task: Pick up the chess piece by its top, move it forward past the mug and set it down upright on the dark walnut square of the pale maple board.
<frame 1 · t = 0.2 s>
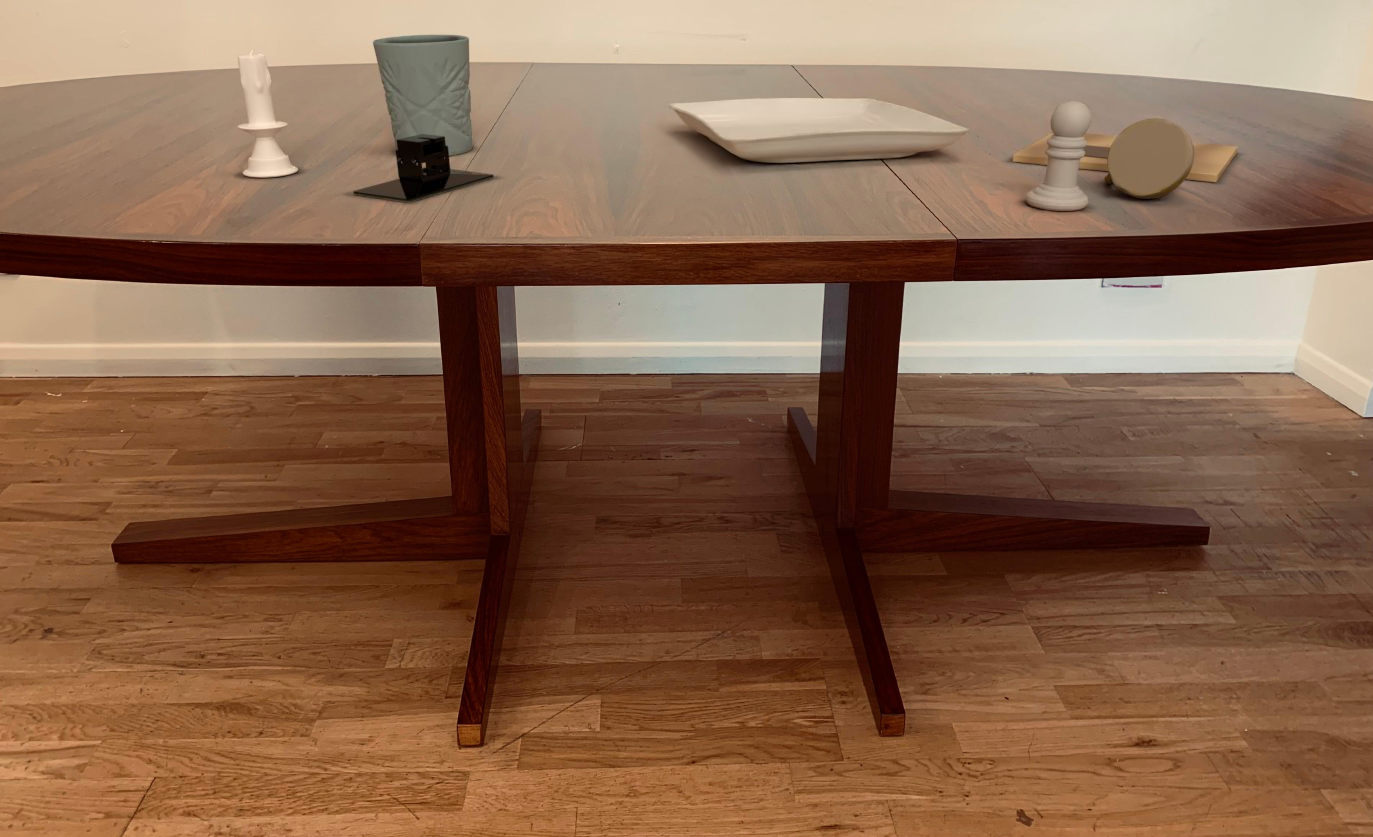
chess piece: (1055, 207, 91), on the table
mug: (1144, 194, 96), on the table
board: (1126, 157, 111), on the table
drinking glass: (433, 151, 115), on the table
square plate: (806, 147, 118), on the table
motor on base plate: (426, 187, 98), on the table
candle: (271, 174, 104), on the table
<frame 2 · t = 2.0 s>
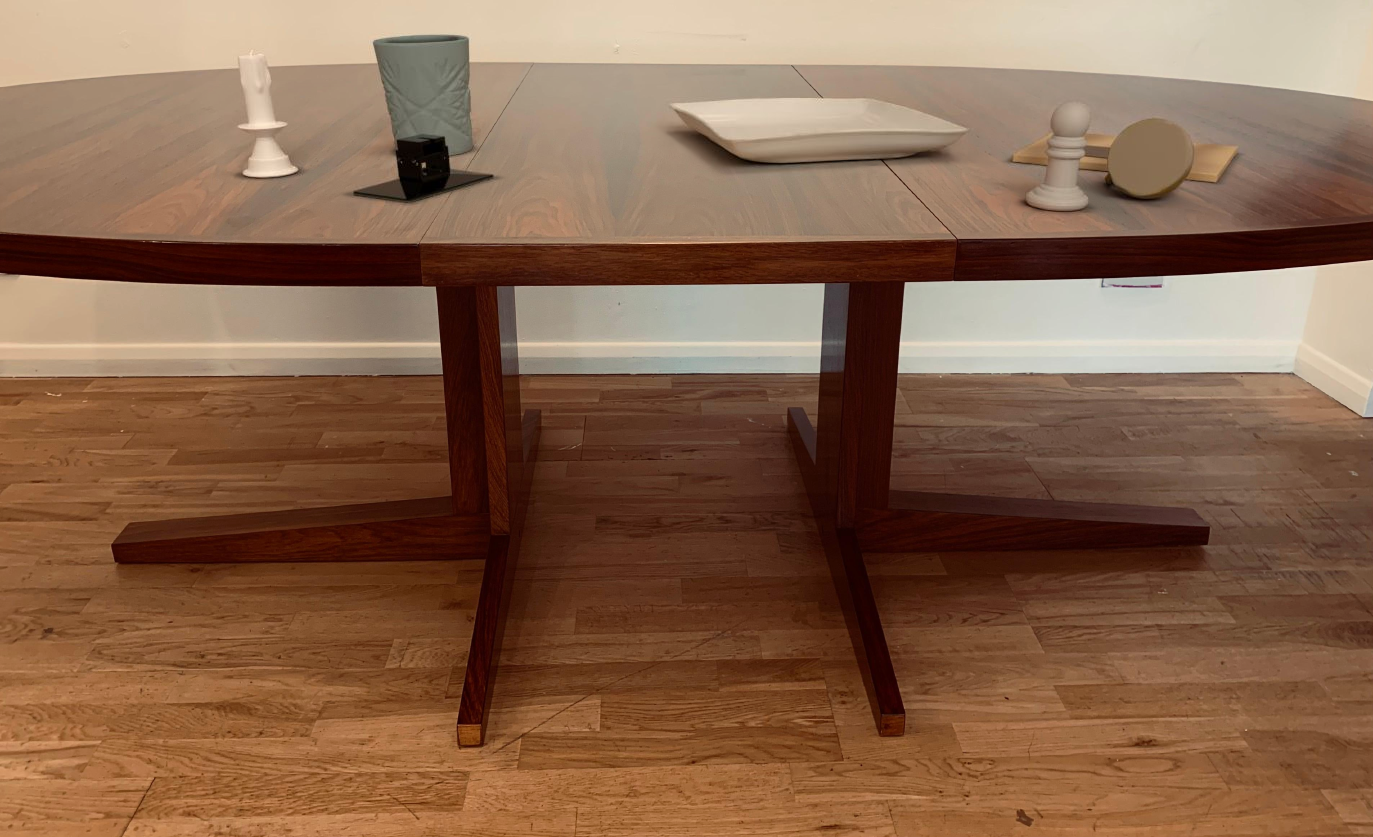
nothing on the table moved.
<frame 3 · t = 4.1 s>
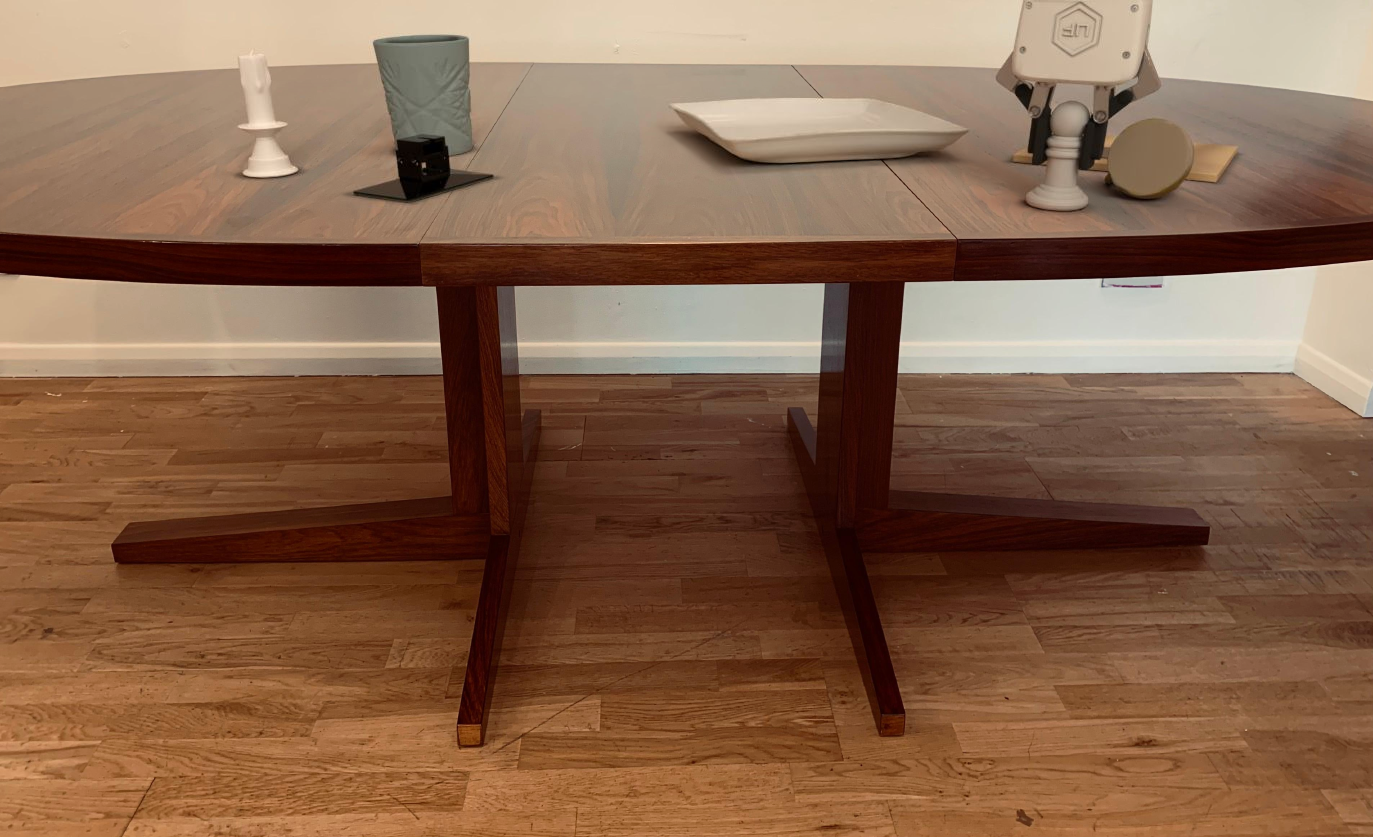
hand: (1063, 163, 89), 4 cm above the table, tool pointing down, fingers closed on chess piece, 3 cm apart
chess piece: (1055, 207, 91), on the table, touching gripper
everything else where it was.
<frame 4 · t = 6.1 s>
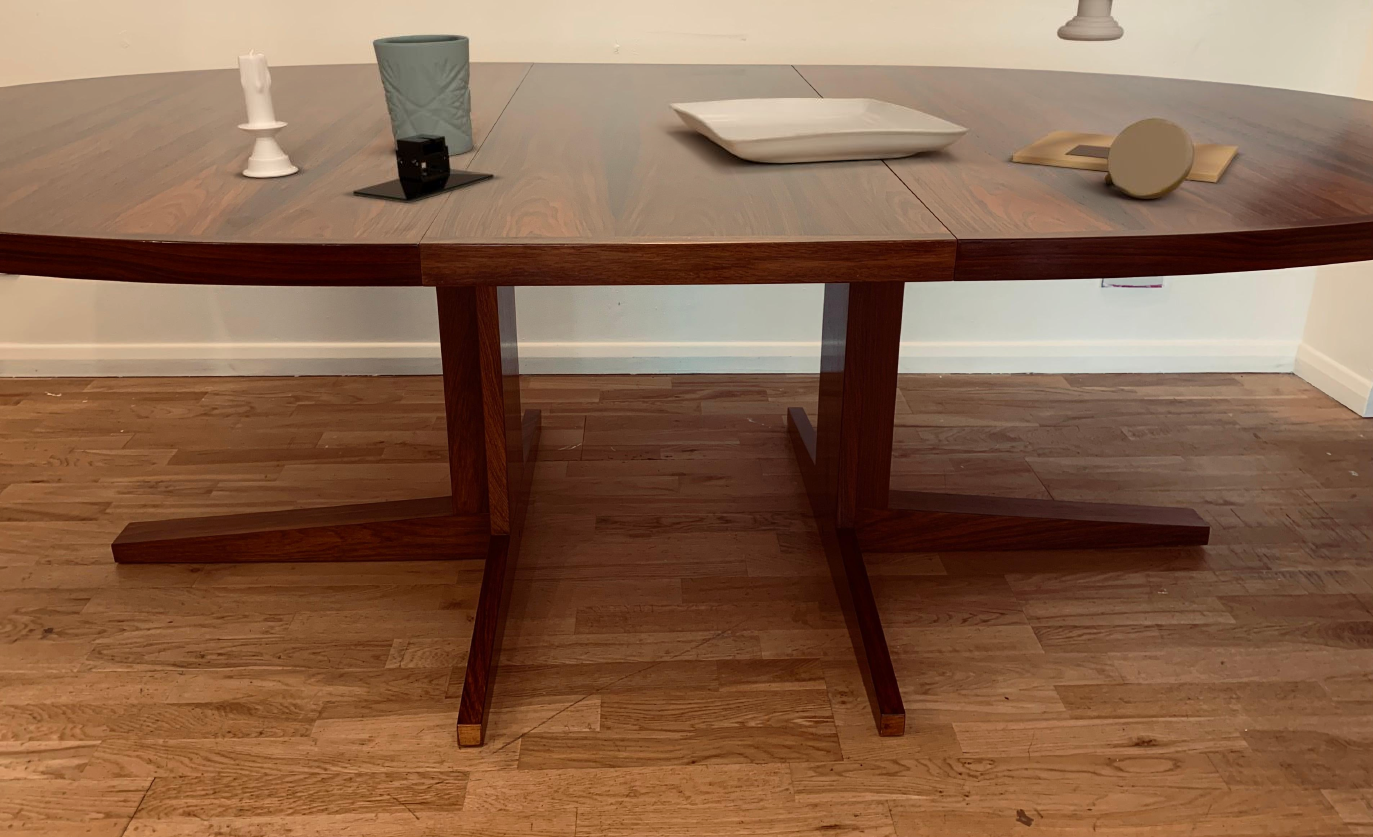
chess piece: (1088, 41, 87), point 14 cm above the table, touching gripper
everything else where it was.
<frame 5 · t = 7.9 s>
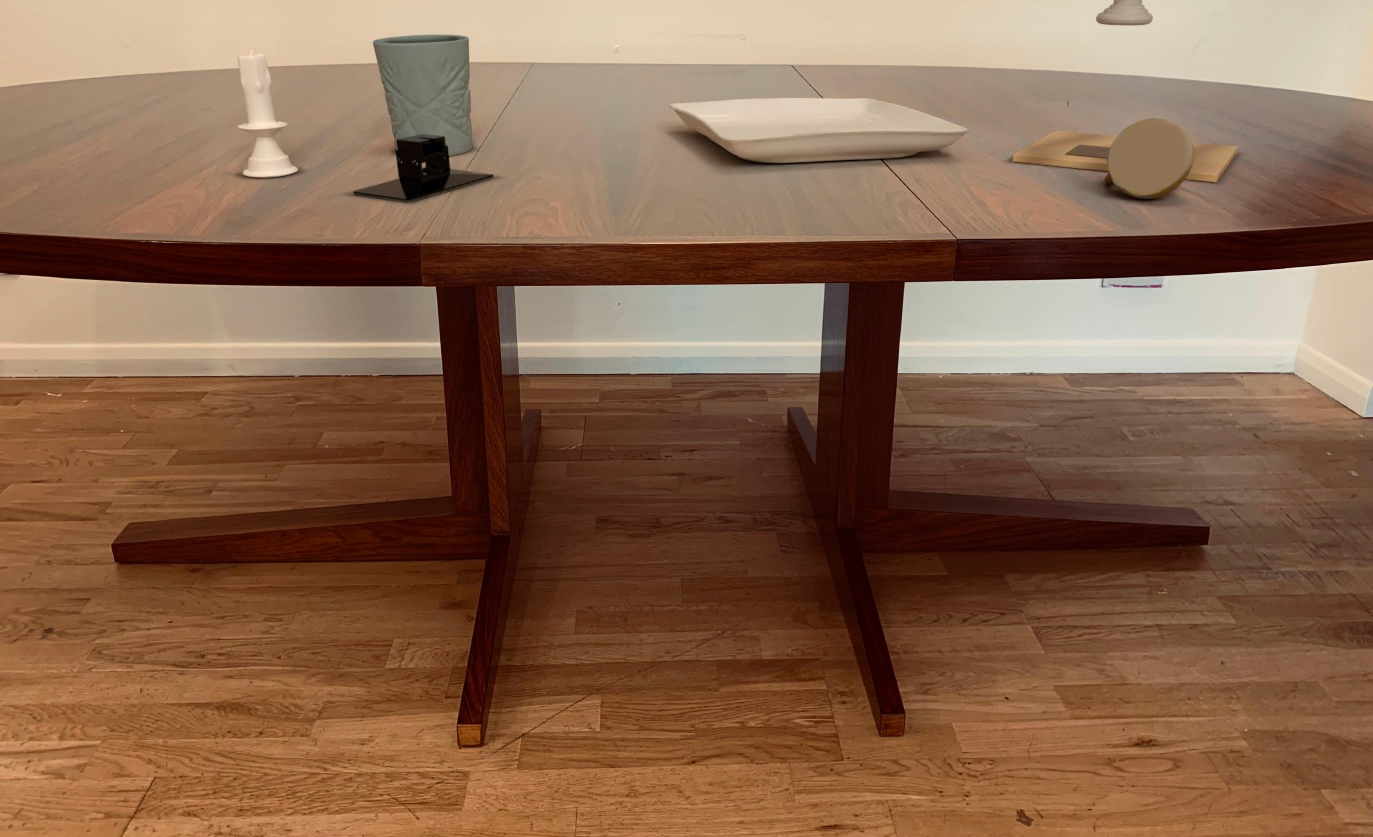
chess piece: (1122, 26, 103), point 14 cm above the table, touching gripper
everything else where it was.
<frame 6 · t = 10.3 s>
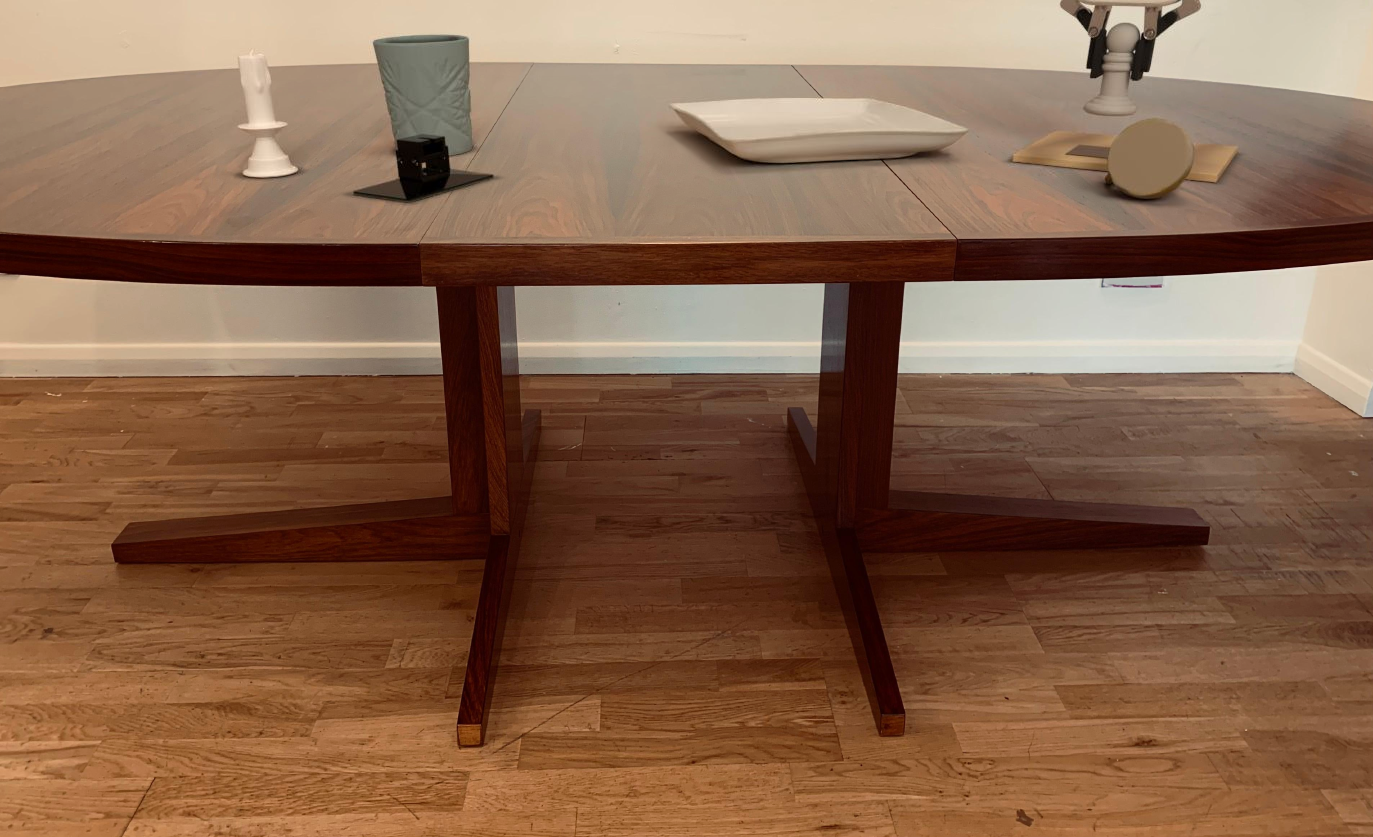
hand: (1116, 76, 106), 9 cm above the table, tool pointing down, fingers closed on chess piece, 3 cm apart
chess piece: (1109, 115, 108), point 5 cm above the table, touching gripper
everything else where it was.
when the fingers open (5 cm above the table, at t = 11.7 s): chess piece stays where it is, resting on board.
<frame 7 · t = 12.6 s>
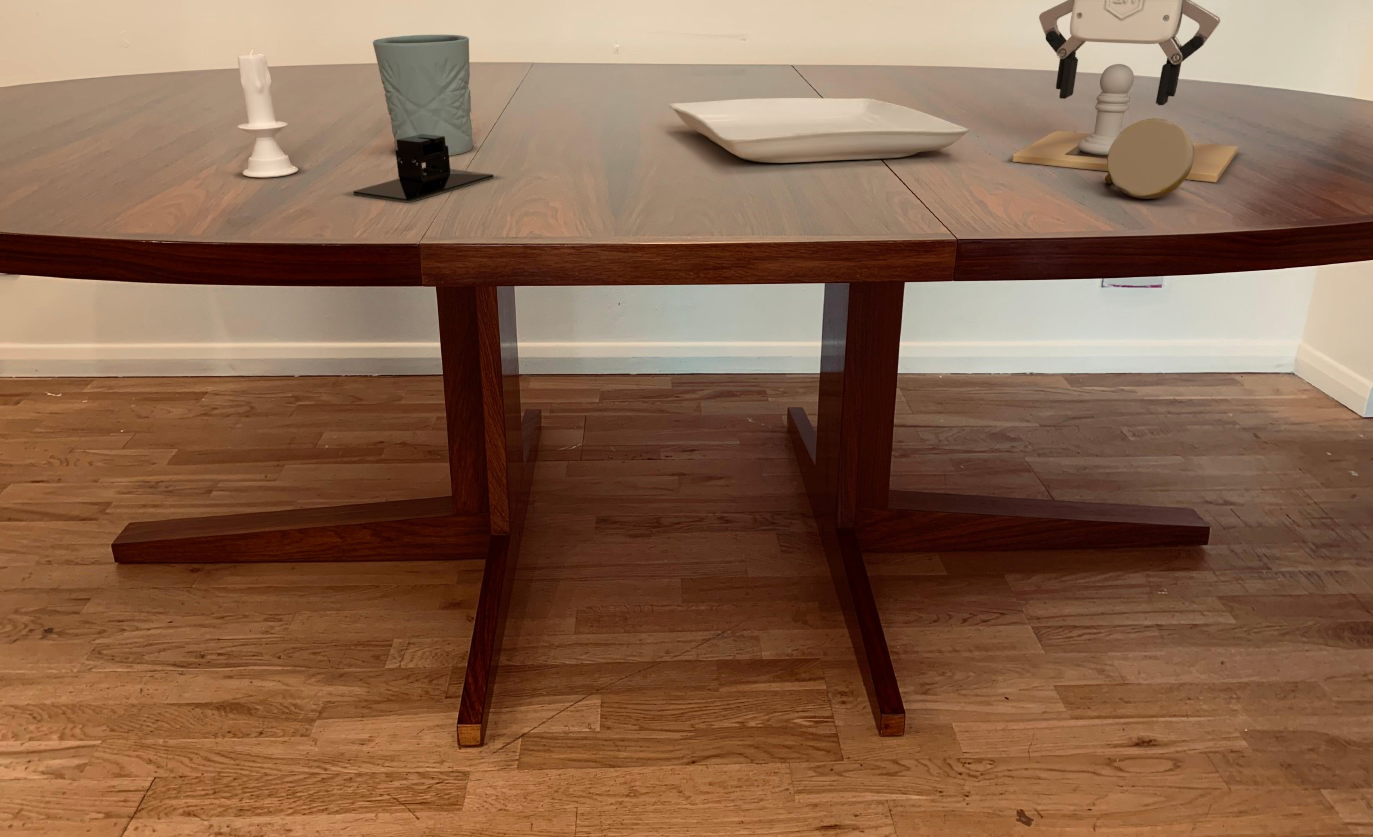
hand: (1112, 100, 107), 6 cm above the table, tool pointing down, fingers open, 9 cm apart
chess piece: (1102, 153, 109), point 1 cm above the table, touching board
everything else where it was.
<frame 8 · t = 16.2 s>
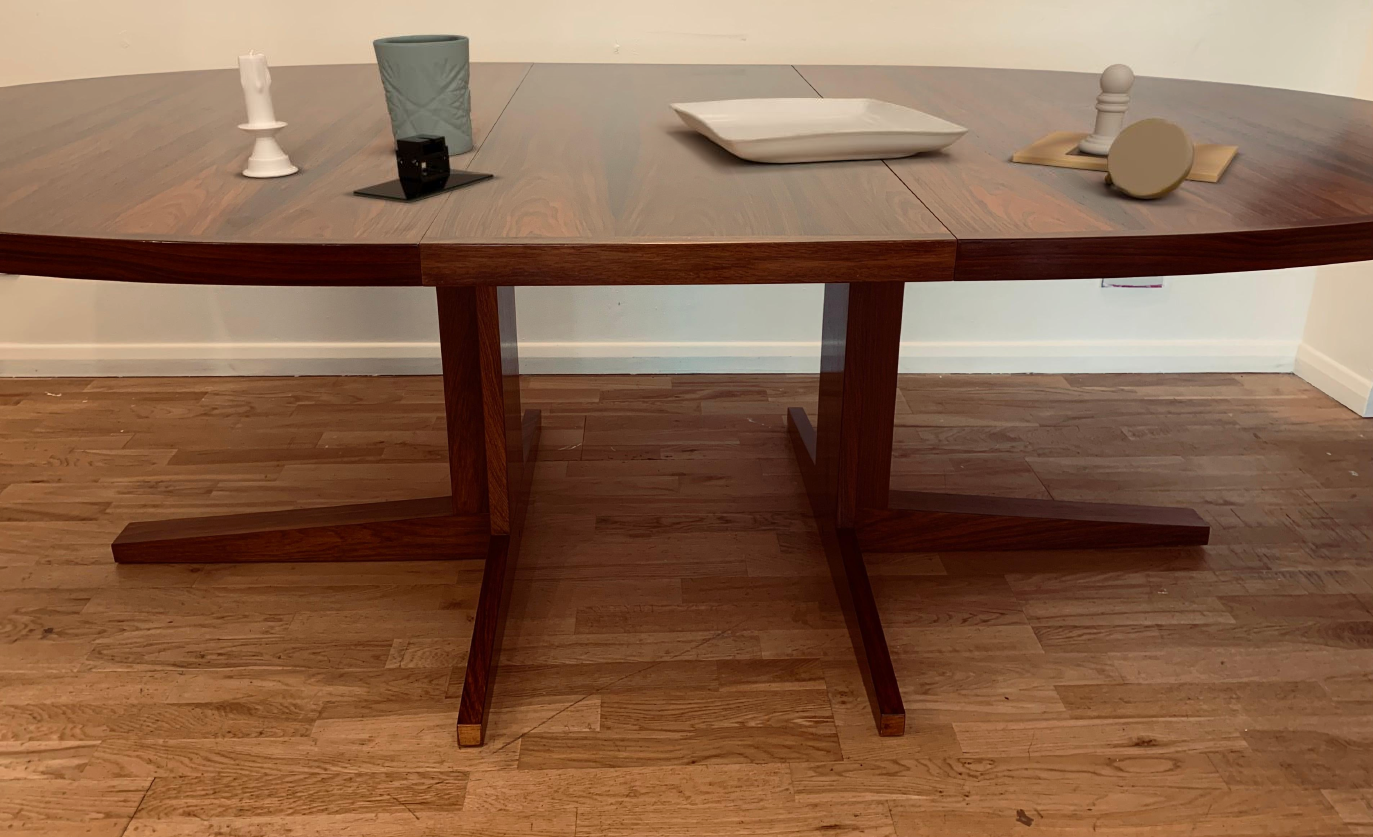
nothing on the table moved.
at the end: chess piece 0.0 cm from the target spot on the board, point 0.7 cm above the board's base; chess piece tilted 0°; chess piece moved 24.0 cm from its start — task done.
